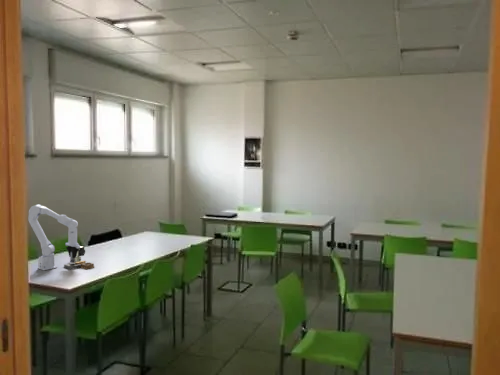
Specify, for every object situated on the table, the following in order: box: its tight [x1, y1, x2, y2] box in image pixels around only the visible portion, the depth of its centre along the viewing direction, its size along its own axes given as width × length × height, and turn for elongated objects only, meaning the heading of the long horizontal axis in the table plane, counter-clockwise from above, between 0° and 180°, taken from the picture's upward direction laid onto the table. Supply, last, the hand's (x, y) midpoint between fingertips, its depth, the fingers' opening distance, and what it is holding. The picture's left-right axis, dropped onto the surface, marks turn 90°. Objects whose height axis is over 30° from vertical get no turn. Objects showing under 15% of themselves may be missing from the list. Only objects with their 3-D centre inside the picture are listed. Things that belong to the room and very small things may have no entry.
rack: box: [81, 262, 95, 270], centre depth 294 cm, size 6×6×3 cm
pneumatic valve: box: [74, 245, 86, 263], centre depth 311 cm, size 6×12×12 cm, turn 59°
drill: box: [69, 251, 75, 263], centre depth 293 cm, size 3×3×7 cm
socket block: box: [63, 262, 82, 270], centre depth 293 cm, size 8×8×2 cm
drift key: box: [74, 260, 87, 265], centre depth 298 cm, size 7×2×3 cm, turn 144°
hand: (72, 257), depth 293 cm, fingers closed on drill, 3 cm apart
